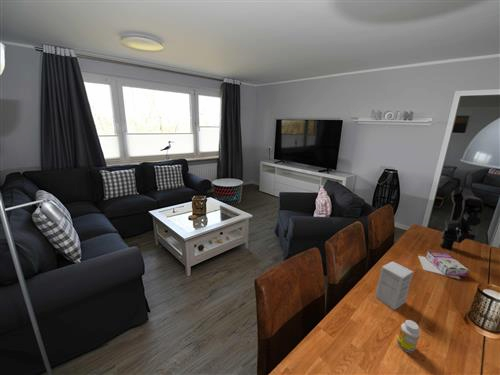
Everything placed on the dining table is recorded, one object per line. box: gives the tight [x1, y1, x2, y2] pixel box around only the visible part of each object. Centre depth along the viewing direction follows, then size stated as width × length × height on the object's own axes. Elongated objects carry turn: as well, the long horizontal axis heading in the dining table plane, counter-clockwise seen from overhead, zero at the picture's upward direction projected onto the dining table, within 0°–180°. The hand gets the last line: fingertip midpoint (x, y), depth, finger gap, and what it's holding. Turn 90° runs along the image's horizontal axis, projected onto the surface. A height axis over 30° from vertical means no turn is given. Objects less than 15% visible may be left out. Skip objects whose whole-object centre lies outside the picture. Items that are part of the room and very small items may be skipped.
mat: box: [417, 255, 461, 280], centre depth 132 cm, size 16×16×1 cm
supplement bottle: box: [396, 319, 421, 354], centre depth 82 cm, size 6×6×10 cm
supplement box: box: [374, 261, 414, 311], centre depth 103 cm, size 10×9×17 cm
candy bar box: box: [425, 250, 469, 277], centre depth 131 cm, size 11×5×16 cm
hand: (458, 242), depth 135 cm, fingers closed
